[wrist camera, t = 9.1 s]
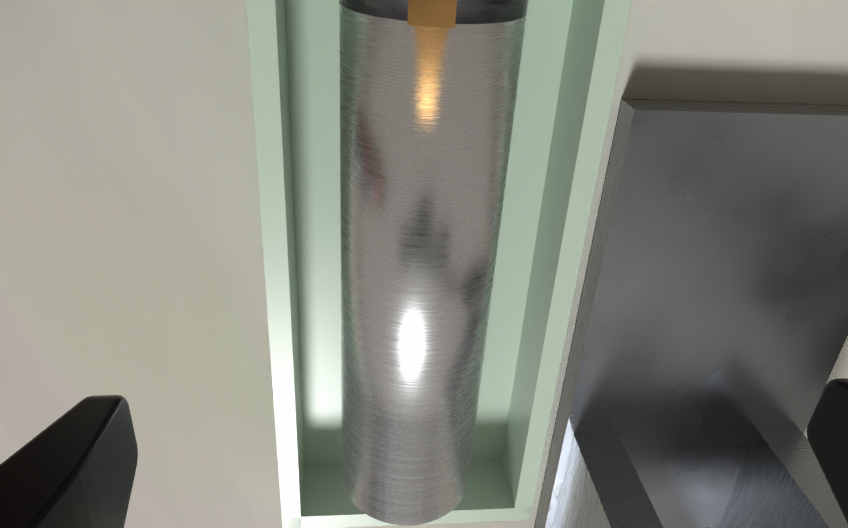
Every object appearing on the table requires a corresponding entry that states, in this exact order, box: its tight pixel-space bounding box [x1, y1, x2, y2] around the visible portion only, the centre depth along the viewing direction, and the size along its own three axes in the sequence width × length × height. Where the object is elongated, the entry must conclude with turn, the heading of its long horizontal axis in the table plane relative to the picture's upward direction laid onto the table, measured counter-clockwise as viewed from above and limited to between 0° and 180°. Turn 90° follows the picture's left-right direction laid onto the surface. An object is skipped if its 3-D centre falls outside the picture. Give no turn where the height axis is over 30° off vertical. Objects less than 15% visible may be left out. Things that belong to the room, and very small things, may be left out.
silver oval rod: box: [339, 0, 528, 525], centre depth 17 cm, size 4×15×6 cm, turn 177°
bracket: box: [534, 99, 848, 528], centre depth 21 cm, size 9×18×6 cm, turn 177°
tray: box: [246, 0, 632, 528], centre depth 19 cm, size 8×18×3 cm, turn 177°
